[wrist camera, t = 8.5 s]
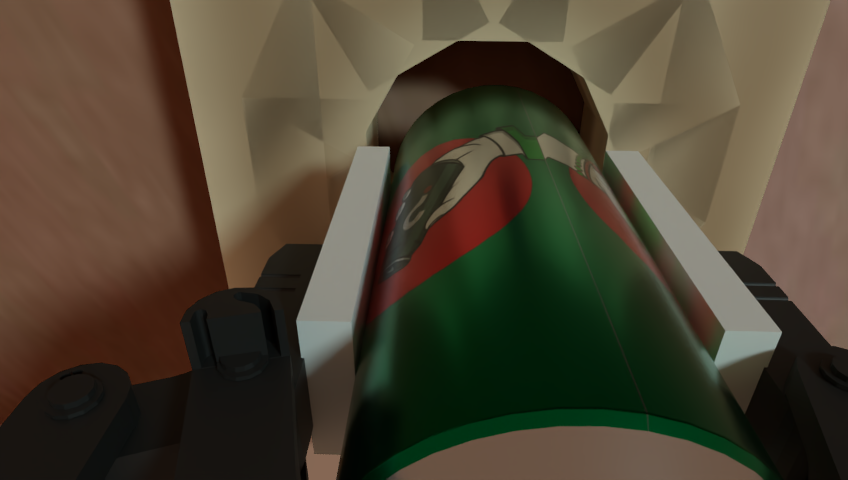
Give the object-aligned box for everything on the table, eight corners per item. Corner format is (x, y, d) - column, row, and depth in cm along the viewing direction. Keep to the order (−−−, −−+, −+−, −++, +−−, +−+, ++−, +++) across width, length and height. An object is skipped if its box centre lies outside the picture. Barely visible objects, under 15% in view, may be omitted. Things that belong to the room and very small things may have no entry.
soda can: (382, 231, 17) (281, 766, 6) (415, 58, 14) (338, 478, 4) (548, 263, 17) (708, 815, 7) (609, 100, 14) (1022, 587, 4)
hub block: (267, 316, 23) (243, 373, 20) (184, -177, 15) (125, -196, 12) (670, 325, 22) (701, 383, 20) (814, -173, 14) (903, -192, 12)
